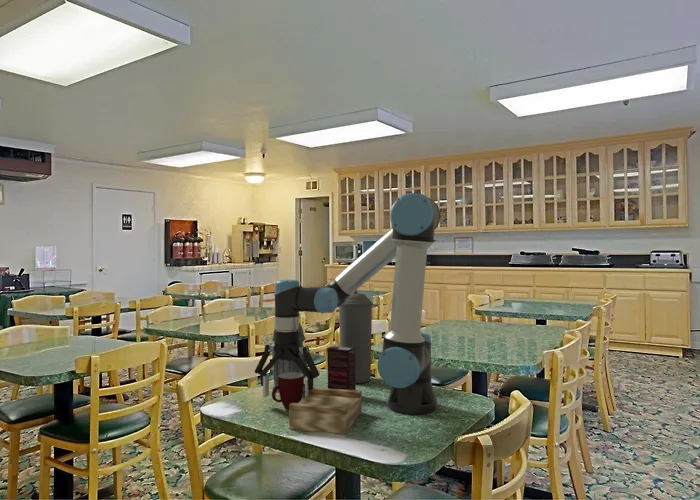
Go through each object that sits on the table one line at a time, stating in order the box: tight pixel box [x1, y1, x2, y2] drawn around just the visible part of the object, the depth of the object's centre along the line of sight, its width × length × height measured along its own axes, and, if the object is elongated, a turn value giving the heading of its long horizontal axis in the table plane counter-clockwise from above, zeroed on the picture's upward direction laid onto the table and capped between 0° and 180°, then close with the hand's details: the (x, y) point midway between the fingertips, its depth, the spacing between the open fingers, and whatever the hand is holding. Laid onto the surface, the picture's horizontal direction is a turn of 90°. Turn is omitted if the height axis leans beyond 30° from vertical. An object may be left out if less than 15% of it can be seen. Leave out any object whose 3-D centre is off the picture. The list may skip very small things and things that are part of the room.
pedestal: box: [288, 386, 363, 435], centre depth 145 cm, size 16×18×6 cm
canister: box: [338, 289, 373, 384], centre depth 188 cm, size 13×13×35 cm
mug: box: [271, 372, 305, 410], centre depth 155 cm, size 10×8×10 cm
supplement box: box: [326, 345, 357, 390], centre depth 170 cm, size 9×5×16 cm, turn 60°
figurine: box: [270, 323, 308, 393], centre depth 176 cm, size 10×14×25 cm
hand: (286, 398), depth 156 cm, fingers open, 13 cm apart
